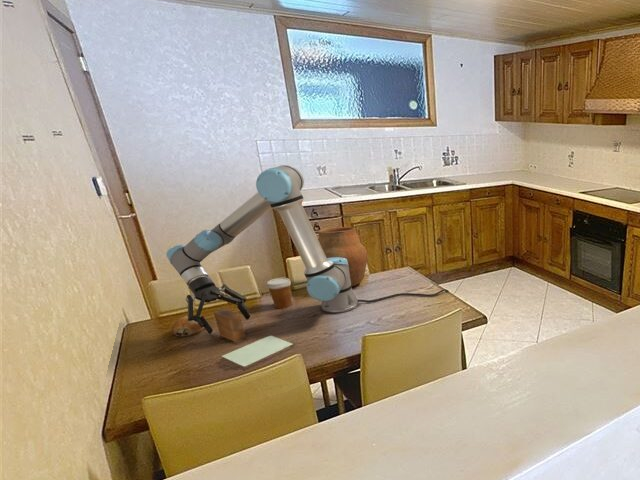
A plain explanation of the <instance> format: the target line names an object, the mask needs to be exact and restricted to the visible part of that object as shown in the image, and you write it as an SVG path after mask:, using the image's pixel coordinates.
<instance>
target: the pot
mask: <svg viewBox="0 0 640 480" xmlns="http://www.w3.org/2000/svg"><path fill="white" fill-rule="evenodd" d="M317 234H318V240H319V243H320V245H321V247H322V249H323V251H324V253H325V256H326V258H332V257H342V258H346V259H347V261H348V264H349V273H350V280H351V287H355V286H357V285H359V284H360V283H362V282H363V280H364V278H365V274H366V270H367V269H366V268H367V266H368V265H367V264H368V250H367V249H366V247H365V246H364V245H363V244H362V242H361V241H362V240H363V236H362V235H361V234H358V233H357V229H356V227H353V226H339V227H331V228H326V229H321V230H318V231H317Z"/></svg>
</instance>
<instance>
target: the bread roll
mask: <svg viewBox="0 0 640 480" xmlns="http://www.w3.org/2000/svg"><path fill="white" fill-rule="evenodd" d="M204 329H205V328H204V326H203V327H200V326H199V324H198V323H197V322H195V321H194V320H192V321H188V315H185V316H182V317H180V318H179V319H177V320H176V321H175V323H174V324H173V325H172V334H173V335H174V336H176V337H177V336H178V337H188V336H193V335H196V334H198V333H199V332H201V331H203V330H204Z"/></svg>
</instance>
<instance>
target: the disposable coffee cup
mask: <svg viewBox="0 0 640 480" xmlns="http://www.w3.org/2000/svg"><path fill="white" fill-rule="evenodd" d="M291 283H292V281H291V280H290V279H289V278H288V277H276V278H272V279H270V280H268V281H267V283H266V287H267V289H268V291H269V293H270V296H271V299H272V301H273V303H274V304H273V305H274V307H275V308H277V309H285V308H288V307H290V306H291V305H292V295H291V292H292V291H291Z"/></svg>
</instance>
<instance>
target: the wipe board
mask: <svg viewBox="0 0 640 480" xmlns="http://www.w3.org/2000/svg"><path fill="white" fill-rule="evenodd" d="M292 345H293V342H289V341H286V340H284V339H281V338H279V337H276V336H274V335H271V334H270V335H268V336H266V337H262V338H261V339H258V340H256V341H253V342H252V343H249V344H246V345H245V346H242V347H240V348H237V349H234V350H233V351H230V352H227V353H226V354H223V355H221V357H222V358H224V359H226V360H228V361H231V362H233V363H235V364H237V365H240V366H242V367H247V366H249V365H251V364H253V363H255V362H258V361H260V360H262V359H264V358H267V357H268V356H271V355H273V354H276V353H277V352H280V351H281V350H284V349H286V348H288V347H290V346H292Z"/></svg>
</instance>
